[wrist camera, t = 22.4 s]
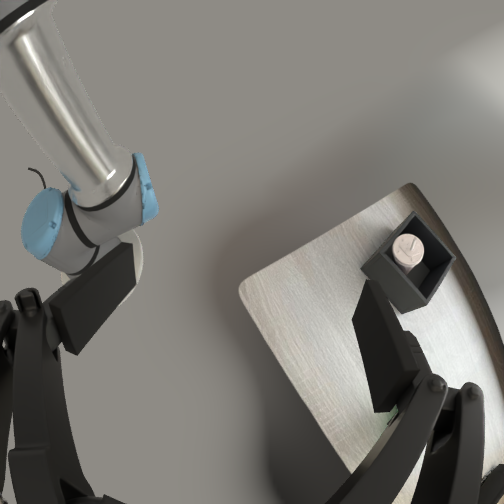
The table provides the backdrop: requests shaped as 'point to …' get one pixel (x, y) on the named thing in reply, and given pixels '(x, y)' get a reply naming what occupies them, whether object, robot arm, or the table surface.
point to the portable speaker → (492, 487)
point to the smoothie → (407, 252)
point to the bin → (421, 275)
